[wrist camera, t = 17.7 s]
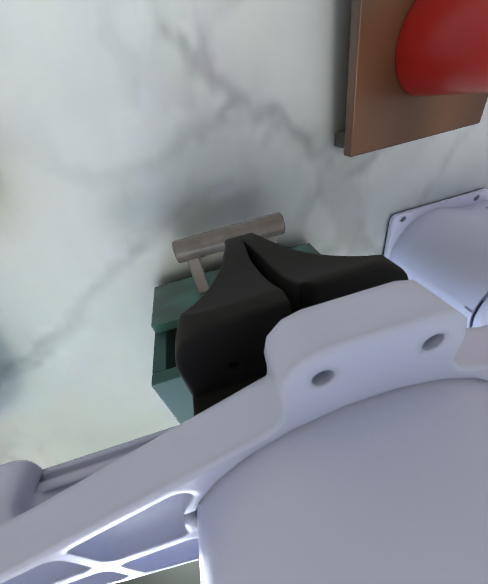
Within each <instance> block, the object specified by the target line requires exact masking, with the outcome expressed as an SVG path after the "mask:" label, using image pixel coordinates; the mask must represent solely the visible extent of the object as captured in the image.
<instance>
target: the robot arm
mask: <svg viewBox="0 0 488 584" xmlns="http://www.w3.org/2000/svg"><path fill="white" fill-rule="evenodd" d="M401 218H402V219H401ZM224 243H225V252H224V257H223V261H222V264H221V267H220V270H219V272H218V274H217V276H216V278H215V280H214V282H213V283H212V285H211V286H210V288H209V289H208V290H207V292H206V293H205V294H204V295H203V296H202V297H201V298H200V299H199V300H198V301H197V302H196V303H195V304H194V305H192V306H191V307H190V308H189V309H187V310H186V311H185V312H184V313H182V314H181V315H180V318H179V322H178V327H177V333H176V340H175V364H176V367H177V370H178V372H179V374H180V376H181V377H182V379H183V381H184V383H185V384H186V386H187V388H188V389H189V391H190V393H191V395H192V396H193V409H194V417H192V418H190V419H189V420H187V421H185V422H183V423H182V424H180V425H178V426H175V427H172V428H169V429H166V430H162V431H159V432H156V433H153V434H150V435H147V436H144V437H141V438H138V439H135V440H132V441H129V442H126V443H123V444H120V445H116V446H113V447H110V448H107V449H104V450H101V451H98V452H95V453H92V454H89V455H86V456H83V457H80V458H77V459H74V460H71V461H67V462H64V463H61V464H58V465H55V466H52V467H49V468H46V469H42V468H41V467H40V466H38V465H37V464H35V463H33V462H31V461H27V460H17V461H12V462H9V463H6V464H3V465H0V584H115V583H118V582H122V581H126V580H129V579H133V578H136V577H140V576H143V575H147V574H150V573H154V572H157V571H161V570H164V569H168V568H171V567H175V566H179V565H182V564H186V563H189V562H192V561H196V560H200V576H201V584H488V188H484V189H481V190H477V191H474V192H470V193H467V194H463V195H460V196H456V197H453V198H449V199H446V200H442V201H439V202H435V203H432V204H428V205H425V206H421V207H418V208H414V209H411V210H407V211H404V212H400V213H397V214H394V215H393V216H392V217H391V219H390V222H389V228H388V234H387V239H386V245H385V251H384V256H383V255H371V256H329V255H321V254H313V253H307V252H303V251H298V250H295V249H291V248H288V247H285V246H282V245H279V244H277V243H274V242H272V241H270V240H267V239H265V238H263V237H261V236H259V235H256V234H254V233H248V234H245V235H241V236H237V237H234V238H230V239H227V240H226V241H225V242H224Z"/></svg>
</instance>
